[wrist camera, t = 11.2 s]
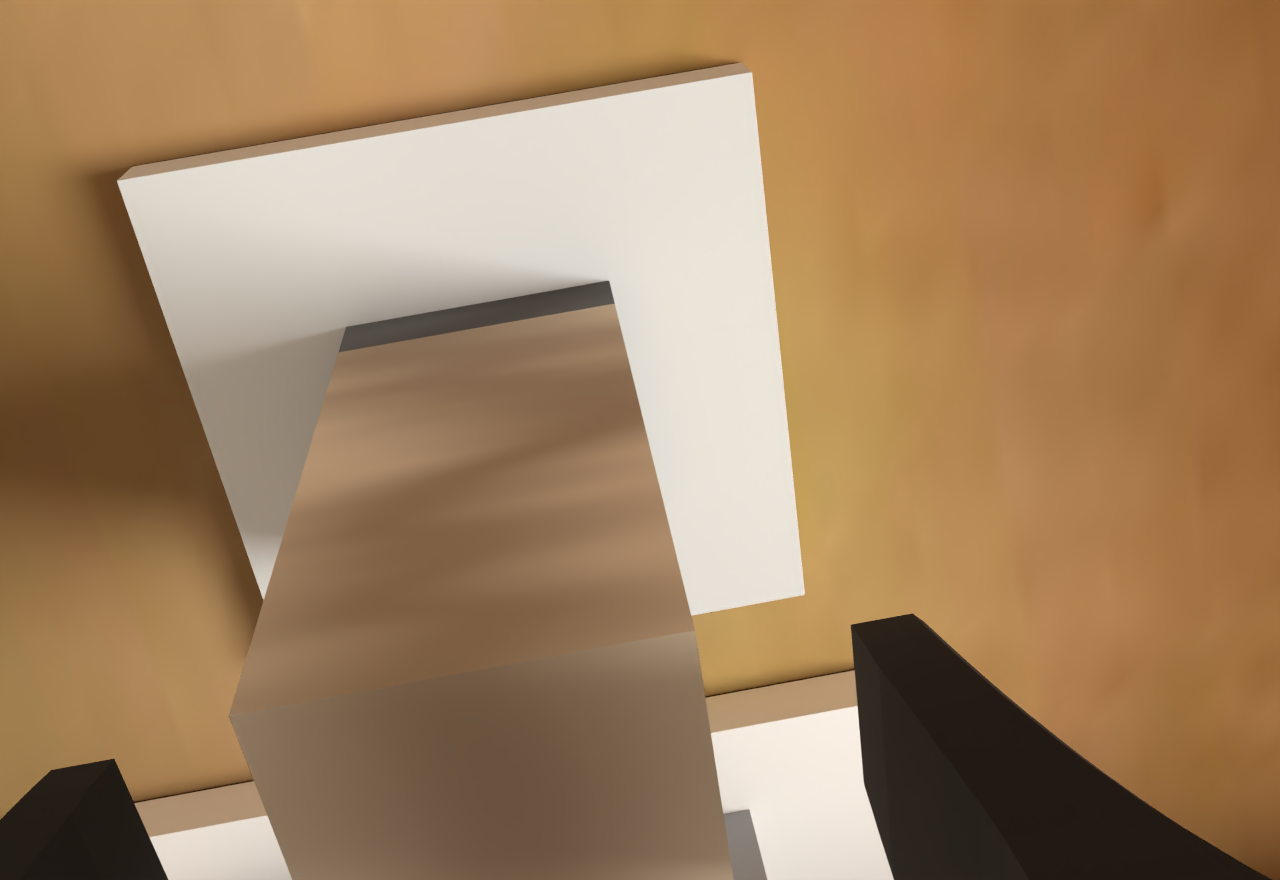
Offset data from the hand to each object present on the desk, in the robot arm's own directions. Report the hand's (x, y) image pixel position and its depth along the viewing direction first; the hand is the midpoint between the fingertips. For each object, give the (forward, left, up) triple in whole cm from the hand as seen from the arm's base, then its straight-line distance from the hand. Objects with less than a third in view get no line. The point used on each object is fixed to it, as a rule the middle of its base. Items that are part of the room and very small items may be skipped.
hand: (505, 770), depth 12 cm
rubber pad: (0, 0, -9) cm, 9 cm away
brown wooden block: (0, 0, -8) cm, 8 cm away
